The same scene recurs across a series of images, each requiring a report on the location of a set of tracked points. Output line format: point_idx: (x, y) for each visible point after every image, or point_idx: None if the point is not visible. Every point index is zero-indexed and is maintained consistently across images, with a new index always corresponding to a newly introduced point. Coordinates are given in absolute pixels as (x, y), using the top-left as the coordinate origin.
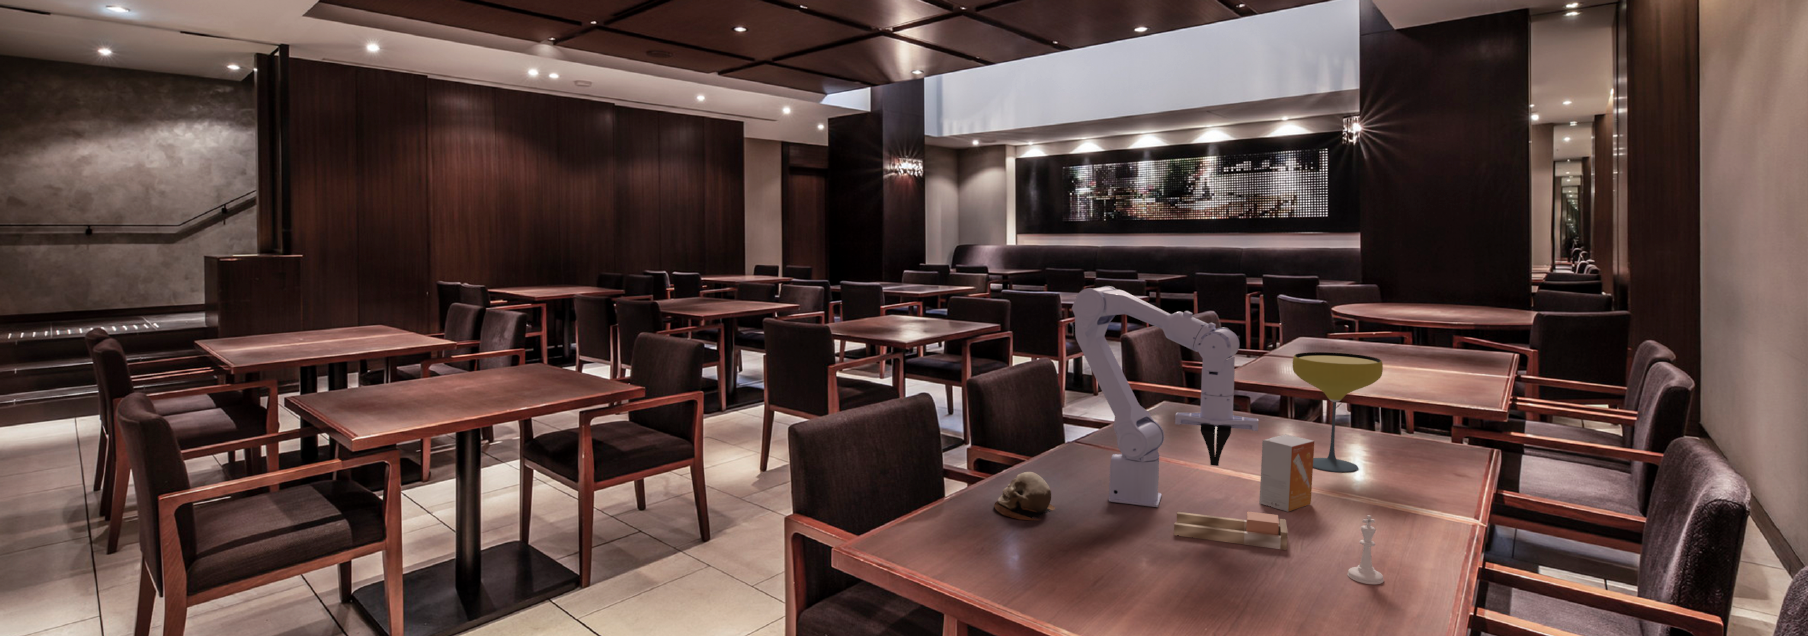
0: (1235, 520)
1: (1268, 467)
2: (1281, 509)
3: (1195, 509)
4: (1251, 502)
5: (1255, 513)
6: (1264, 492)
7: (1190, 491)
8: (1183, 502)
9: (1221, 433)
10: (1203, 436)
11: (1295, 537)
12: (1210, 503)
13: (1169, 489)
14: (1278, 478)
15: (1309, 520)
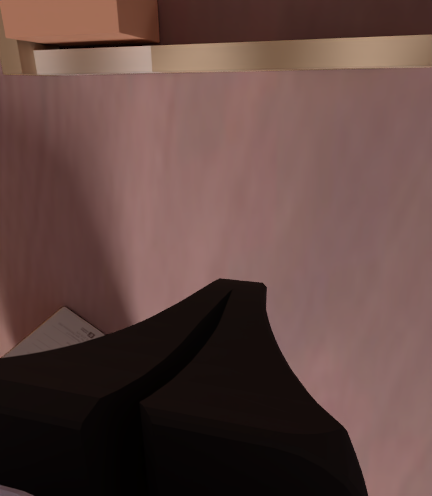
0: (184, 46)
1: None
2: (81, 319)
3: (342, 259)
4: None
5: (83, 14)
6: None
7: (350, 435)
8: (384, 324)
9: (32, 385)
10: (317, 403)
11: (17, 75)
12: (286, 334)
13: (427, 446)
14: None
15: (10, 253)
